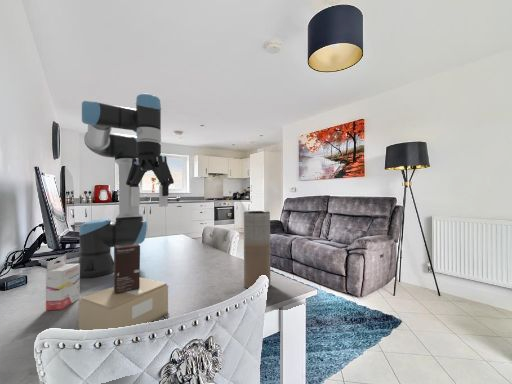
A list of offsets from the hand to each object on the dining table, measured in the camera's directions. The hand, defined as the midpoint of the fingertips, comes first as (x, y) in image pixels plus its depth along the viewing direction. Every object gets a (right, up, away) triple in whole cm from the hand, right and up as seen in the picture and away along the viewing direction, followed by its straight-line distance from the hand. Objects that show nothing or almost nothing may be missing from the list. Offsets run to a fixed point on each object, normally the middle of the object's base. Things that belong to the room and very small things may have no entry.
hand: (148, 206), depth 81 cm
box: (+1, -22, -15) cm, 27 cm away
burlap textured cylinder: (+36, -31, +10) cm, 49 cm away
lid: (+1, -22, -15) cm, 27 cm away
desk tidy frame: (-60, -32, +46) cm, 82 cm away
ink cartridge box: (-25, -31, -4) cm, 40 cm away
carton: (0, -31, -15) cm, 34 cm away
